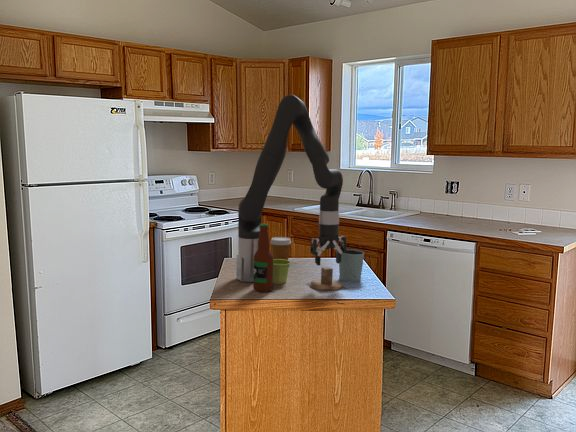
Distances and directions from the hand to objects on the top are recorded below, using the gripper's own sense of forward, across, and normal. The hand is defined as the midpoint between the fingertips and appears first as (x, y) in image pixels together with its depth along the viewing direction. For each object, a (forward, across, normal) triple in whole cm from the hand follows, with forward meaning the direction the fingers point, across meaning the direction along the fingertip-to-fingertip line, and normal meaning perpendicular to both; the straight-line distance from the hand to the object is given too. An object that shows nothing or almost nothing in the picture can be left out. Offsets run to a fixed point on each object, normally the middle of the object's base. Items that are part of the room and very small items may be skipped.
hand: (328, 264), depth 199 cm
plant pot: (+9, -16, +12) cm, 22 cm away
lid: (+9, -1, 0) cm, 9 cm away
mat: (+9, -1, 0) cm, 9 cm away
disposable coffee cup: (+9, -3, +40) cm, 41 cm away
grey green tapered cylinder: (+10, +14, +6) cm, 18 cm away
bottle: (+9, -25, +5) cm, 27 cm away
